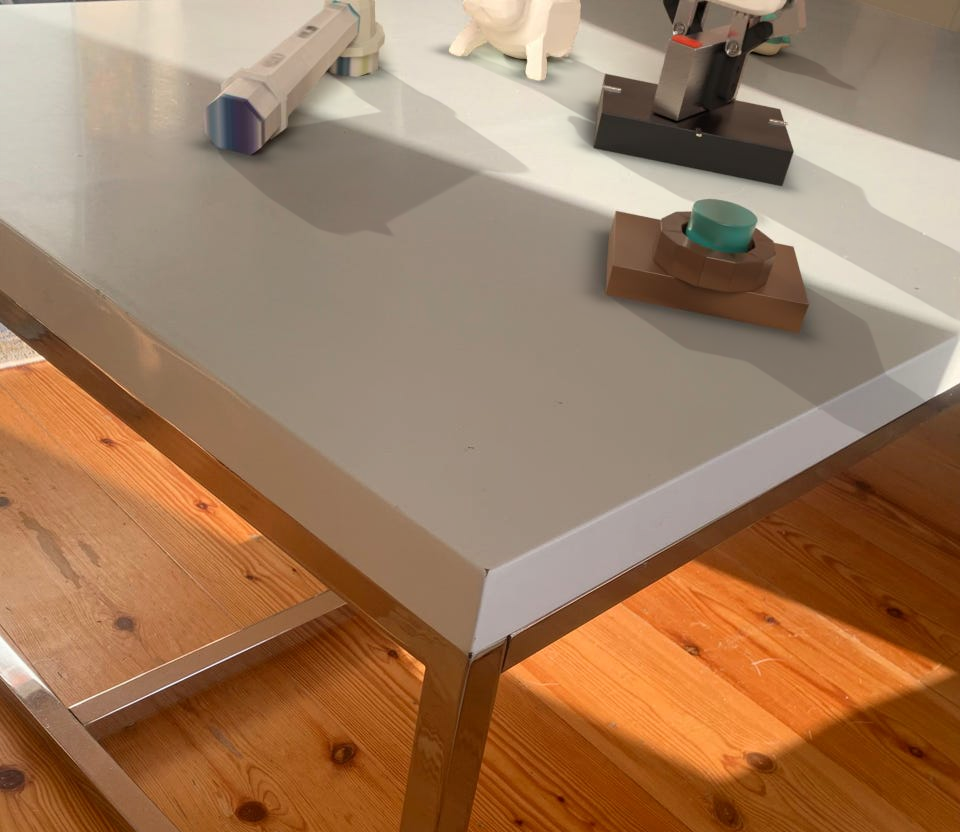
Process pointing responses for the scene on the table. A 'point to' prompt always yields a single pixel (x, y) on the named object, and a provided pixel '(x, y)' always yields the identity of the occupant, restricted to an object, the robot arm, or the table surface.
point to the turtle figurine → (772, 41)
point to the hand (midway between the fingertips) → (696, 98)
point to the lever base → (694, 133)
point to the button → (721, 225)
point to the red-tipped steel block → (689, 73)
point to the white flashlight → (293, 74)
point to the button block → (704, 273)
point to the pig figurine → (521, 30)
